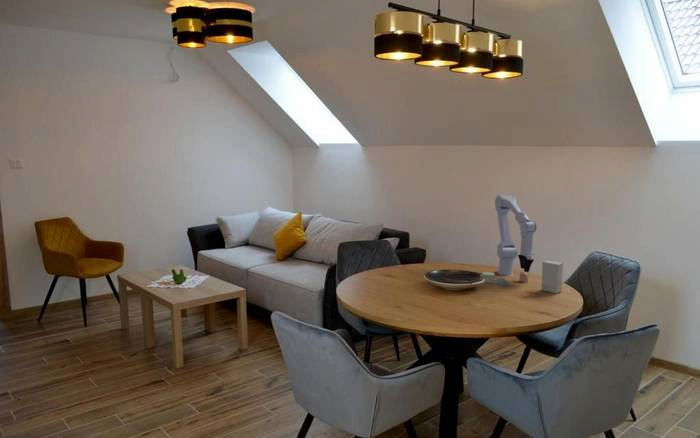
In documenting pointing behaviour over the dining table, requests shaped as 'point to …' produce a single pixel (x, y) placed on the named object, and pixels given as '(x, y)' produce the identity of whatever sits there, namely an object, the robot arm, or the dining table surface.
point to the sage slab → (488, 275)
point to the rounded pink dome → (523, 277)
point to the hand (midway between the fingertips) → (524, 270)
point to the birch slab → (489, 280)
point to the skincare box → (552, 276)
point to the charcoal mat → (498, 282)
